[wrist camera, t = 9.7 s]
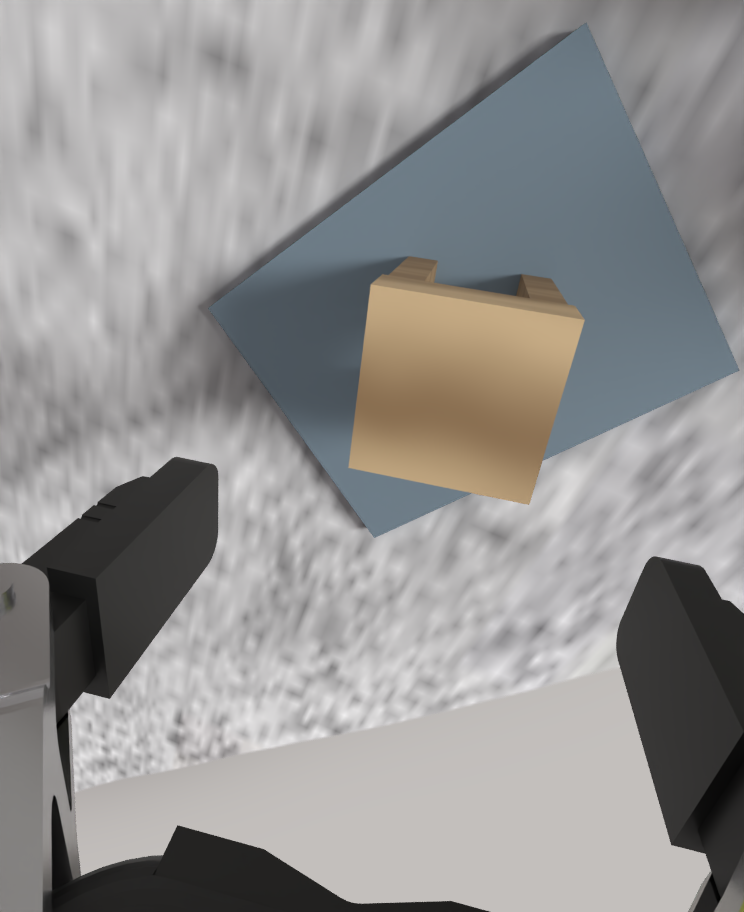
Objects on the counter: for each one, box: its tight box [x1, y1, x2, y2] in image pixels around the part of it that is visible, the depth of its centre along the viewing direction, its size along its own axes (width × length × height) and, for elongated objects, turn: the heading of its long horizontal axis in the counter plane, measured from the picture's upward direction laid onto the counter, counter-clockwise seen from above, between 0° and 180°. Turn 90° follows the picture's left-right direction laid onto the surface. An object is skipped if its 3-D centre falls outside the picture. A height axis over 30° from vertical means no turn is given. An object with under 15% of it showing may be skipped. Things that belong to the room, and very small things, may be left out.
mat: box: [208, 23, 739, 538], centre depth 25 cm, size 18×14×1 cm
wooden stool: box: [348, 256, 585, 505], centre depth 20 cm, size 6×6×8 cm
